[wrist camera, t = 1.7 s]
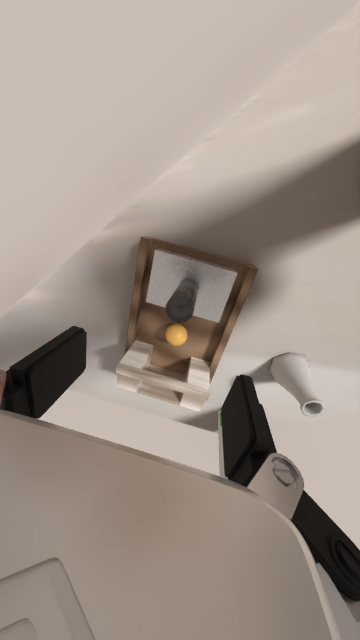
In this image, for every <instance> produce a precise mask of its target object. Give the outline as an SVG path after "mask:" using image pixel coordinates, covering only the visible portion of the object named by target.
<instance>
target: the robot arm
mask: <svg viewBox="0 0 360 640" xmlns="http://www.w3.org/2000/svg"><path fill="white" fill-rule="evenodd" d="M85 368H86V332H84V329H83V328H79V327H76V326H72V327H71V328H69V329H68V330H66V331H65V332H63V333H62V334H60V335H58V336H57V337H55V338H54V339H52V340H51V341H49V342H48V343H46V344H45V345H43V346H42V347H40V348H39V349H37V350H35V351H34V352H32V353H31V354H29V355H28V356H26V357H25V358H23V359H22V360H20V361H19V362H17V363H15V364H14V365H12V366H11V367H10V369H9V370H8V371H6V372H5V371H3V370H1V369H0V640H360V550H359V549H358V548H357V547H356V545H355V544H354V543H353V542H352V541H351V540H350V539H349V538H348V536H346V534H345V533H344V532H343V531H342V530H341V529H340V528H339V527H338V526H337V525H336V524H335V523H334V522H333V521H332V520H331V519H330V518H329V516H328V515H327V514H326V513H325V512H324V511H323V510H322V509H321V508H320V507H319V506H318V505H317V504H316V503H315V501H314V500H313V499H312V498H311V497H310V496H309V495H308V494H307V493H306V492H305V491H304V490H303V489H304V482H303V478H302V476H301V473H300V471H299V470H298V468H297V467H296V466H295V465H294V464H293V462H292V461H291V460H289V459H288V458H287V457H285V456H283V455H281V454H278V453H277V452H276V448H275V445H274V441H273V438H272V435H271V432H270V428H269V425H268V422H267V418H266V415H265V412H264V409H263V406H262V405H261V404H259V401H258V398H257V394H256V391H255V387H254V384H253V380H252V378H251V377H249V376H246V375H242V374H241V375H240V376H237V377H236V379H235V381H234V383H233V385H232V387H231V389H230V391H229V393H228V395H227V397H226V400H225V402H224V404H223V406H222V409H221V421H222V439H223V457H224V473H225V477H227V478H228V479H225V478H223V477H220V476H216V475H213V474H211V473H207V472H205V471H202V470H199V469H196V468H192V467H189V466H187V465H183V464H180V463H177V462H174V461H171V460H168V459H165V458H161V457H158V456H155V455H152V454H149V453H146V452H143V451H139V450H136V449H133V448H130V447H126V446H123V445H120V444H116V443H113V442H110V441H107V440H104V439H101V438H97V437H94V436H91V435H88V434H84V433H81V432H78V431H75V430H71V429H68V428H64V427H61V426H58V425H55V424H52V423H48V422H45V421H42V420H38V419H36V418H40V417H41V416H42V415H43V414H44V413H45V412H46V411H47V410H48V409H49V408H50V407H51V406H52V405H53V404H54V402H55V401H56V400H57V399H58V398H59V397H60V396H61V395H62V394H63V393H64V392H65V391H66V390H67V389H68V388H69V387H70V385H71V384H72V383H73V382H74V381H75V380H76V379H77V378H78V377H79V376H80V375H81V374H82V373H83V372H84V370H85Z"/></svg>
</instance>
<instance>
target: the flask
mask: <svg viewBox="0 0 360 640" xmlns="http://www.w3.org/2000/svg"><path fill="white" fill-rule="evenodd" d="M269 370H270V372H271V374H272V376H273V378H274V380H275V381H276V382H277V383H279V384H280V385H281V386H283V387H284V388H285V389H286V390H287V391H289V392H290V393H291V394H292V395H293V396H294V397H295V398H296V399H297V401H298V402H299V403H300V405H301V406H300V408H301V410H302V412H303V414H304V415H308V416H317V415H321V414H322V412H323V411H324V409H325V408H324V405H323V403H322V401H321V400H318V399H317V397H316V396H315V394H314V392H313V389H312V383H311V375H310V367H309V365H308V362H307V360H306V357H305V355H299V354H294V353H287V354H284V355H281V356H278V357H275V358H274V359H273V361H272V364H271V366H270V369H269Z"/></svg>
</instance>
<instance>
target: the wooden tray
mask: <svg viewBox="0 0 360 640" xmlns="http://www.w3.org/2000/svg"><path fill="white" fill-rule="evenodd" d="M161 248H162V249H166V250H169V251H173V252H177V253H180V254H184V255H187V256H191V257H195V258H198V259H202V260H206V261H209V262H213V263H216V264H220V265H224V266H227V267H231V268H234V269H235V270H236V271H237V276H236V279H235V281H234V284H233V287H232V289H231V292H230V295H229V297H228V300H227V303H226V305H225V308H224V311H223V313H222V316H221V319H220V321H219V323H218V322H214V321H211V320H207V319H204V318H200V317H197V316H193V315H192V317H191V318H190V319H189V320H188V321H186V322H183V323H178V322H175V321H173V320H171V319H170V318H169V317H168V315H167V313H166V308H165V307H162V306H158V305H155V304H151V303H148V302H146V298H147V293H148V287H149V281H150V275H151V270H152V264H153V258H154V252H155V250H157V249H161ZM257 271H258V269H257V268H256V267H254V266H253V265H249V264H245V263H242V262H238V261H234V260H231V259H227V258H223V257H220V256H216V255H213V254H209V253H205V252H202V251H198V250H194V249H191V248H187V247H183V246H180V245H176V244H172V243H169V242H165V241H162V240H158V239H154V238H151V237H141V240H140V247H139V254H138V261H137V269H136V276H135V283H134V290H133V297H132V304H131V312H130V319H129V326H128V333H127V340H126V348H125V355H124V357H123V358H122V360H121V361H120V362H119V364H118V365H117V367H116V373H118V378H117V387H121V388H124V389H127V390H130V391H134V392H137V393H140V394H144V395H147V396H150V397H153V398H157V399H160V400H163V401H166V402H170V403H173V404H176V405H180V406H183V407H186V408H189V409H193V410H196V411H199V412H200V411H201V408H202V406H203V404H204V401H205V400H208V397H209V386H210V383H211V380H212V378H213V376H214V373H215V371H216V368H217V366H218V364H219V361H220V359H221V356H222V354H223V352H224V349H225V347H226V345H227V342H228V340H229V337H230V335H231V333H232V330H233V328H234V325H235V323H236V321H237V318H238V316H239V313H240V311H241V309H242V306H243V304H244V302H245V299H246V297H247V294H248V292H249V290H250V287H251V285H252V282H253V280H254V278H255V275H256V273H257ZM173 324H180V325H182V326H184V327H185V329H186V330H187V334H188V335H187V340H186V341H185V343H184V344H182V345H180V346H173V345H171V344H169V343H168V341H167V340H166V336H165V334H166V330H167V329H168V327H169V326H171V325H173Z"/></svg>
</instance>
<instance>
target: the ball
mask: <svg viewBox="0 0 360 640" xmlns="http://www.w3.org/2000/svg"><path fill="white" fill-rule="evenodd" d="M187 335H188V334H187V330H186V329H185V327H184V326H182V325H180V324H173V325H171V326H169V327H168V329H167V330H166V334H165V336H166V340H167V341H168V343H169V344H171V345H173V346H180V345H182V344H184V343H185V341H186V340H187Z"/></svg>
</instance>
